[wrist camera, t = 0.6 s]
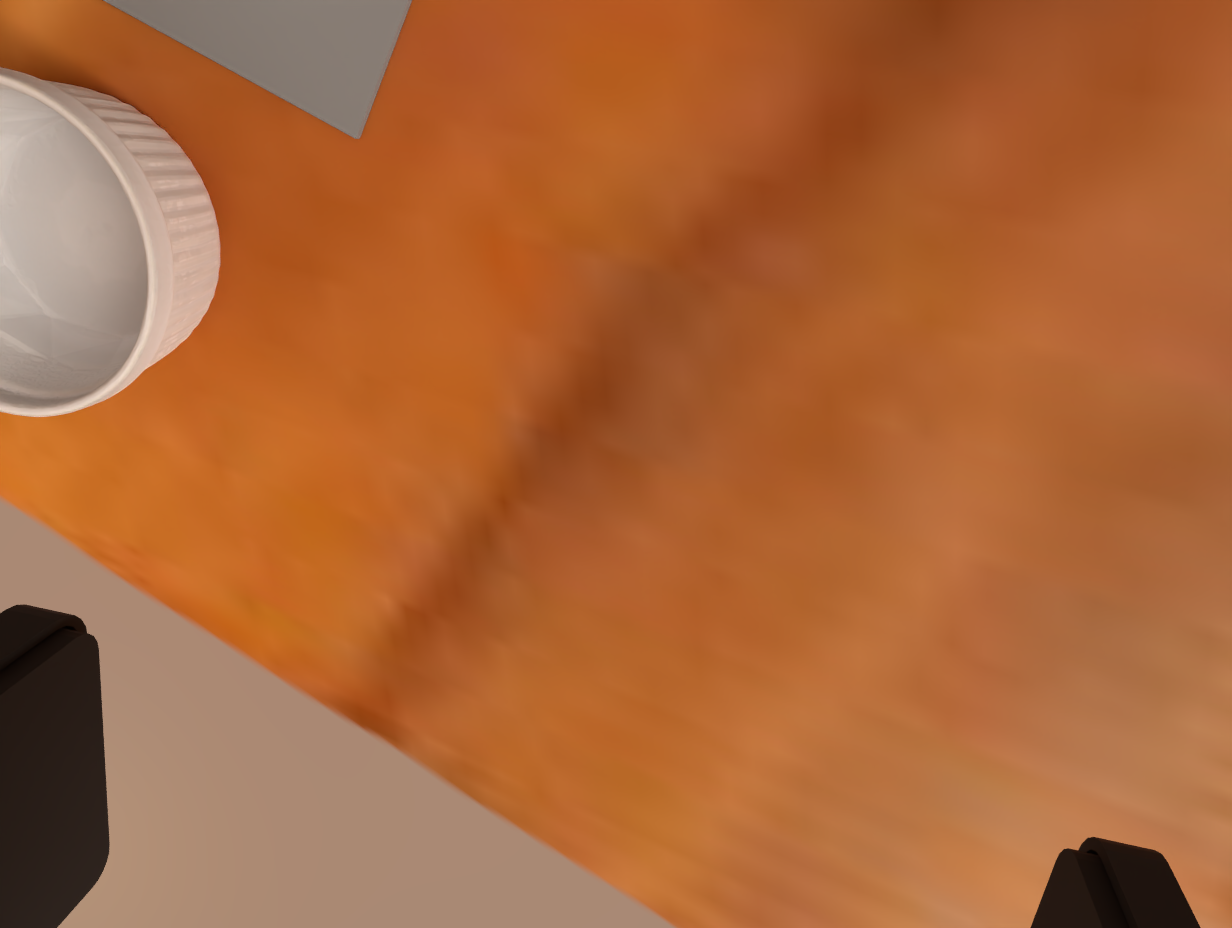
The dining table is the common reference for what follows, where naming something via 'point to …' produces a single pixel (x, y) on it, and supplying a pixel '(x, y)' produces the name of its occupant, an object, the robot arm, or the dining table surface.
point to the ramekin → (93, 245)
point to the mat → (291, 46)
